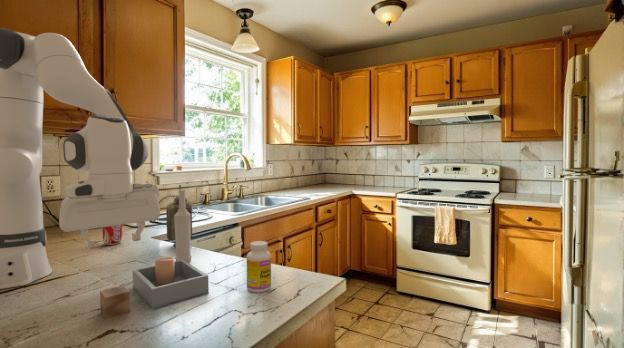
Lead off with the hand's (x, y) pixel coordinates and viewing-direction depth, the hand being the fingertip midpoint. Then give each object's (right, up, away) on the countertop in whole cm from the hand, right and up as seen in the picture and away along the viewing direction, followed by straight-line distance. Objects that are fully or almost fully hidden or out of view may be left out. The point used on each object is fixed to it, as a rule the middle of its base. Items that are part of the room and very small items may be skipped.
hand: (114, 244), depth 79 cm
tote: (+7, -15, +13) cm, 21 cm away
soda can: (-36, -13, +61) cm, 72 cm away
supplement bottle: (+32, -16, +14) cm, 38 cm away
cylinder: (+5, -15, +16) cm, 22 cm away
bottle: (+2, -14, +37) cm, 40 cm away
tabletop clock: (-7, -13, +56) cm, 58 cm away
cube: (0, -16, +1) cm, 16 cm away
